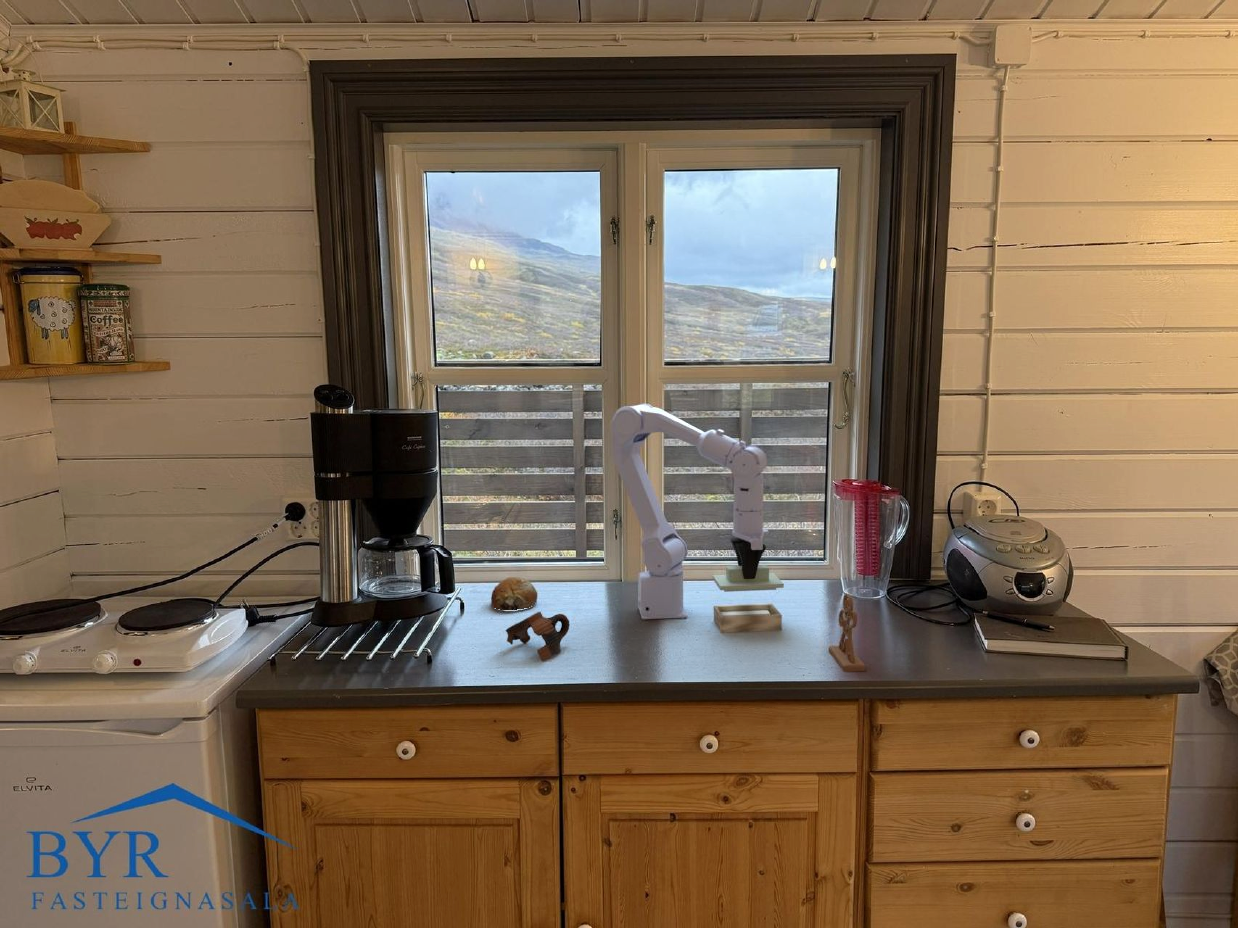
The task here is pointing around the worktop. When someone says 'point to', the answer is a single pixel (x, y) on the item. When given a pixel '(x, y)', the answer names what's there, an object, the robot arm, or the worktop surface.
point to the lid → (747, 580)
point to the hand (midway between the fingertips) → (747, 576)
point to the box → (747, 618)
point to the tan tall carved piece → (847, 640)
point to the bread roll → (514, 594)
